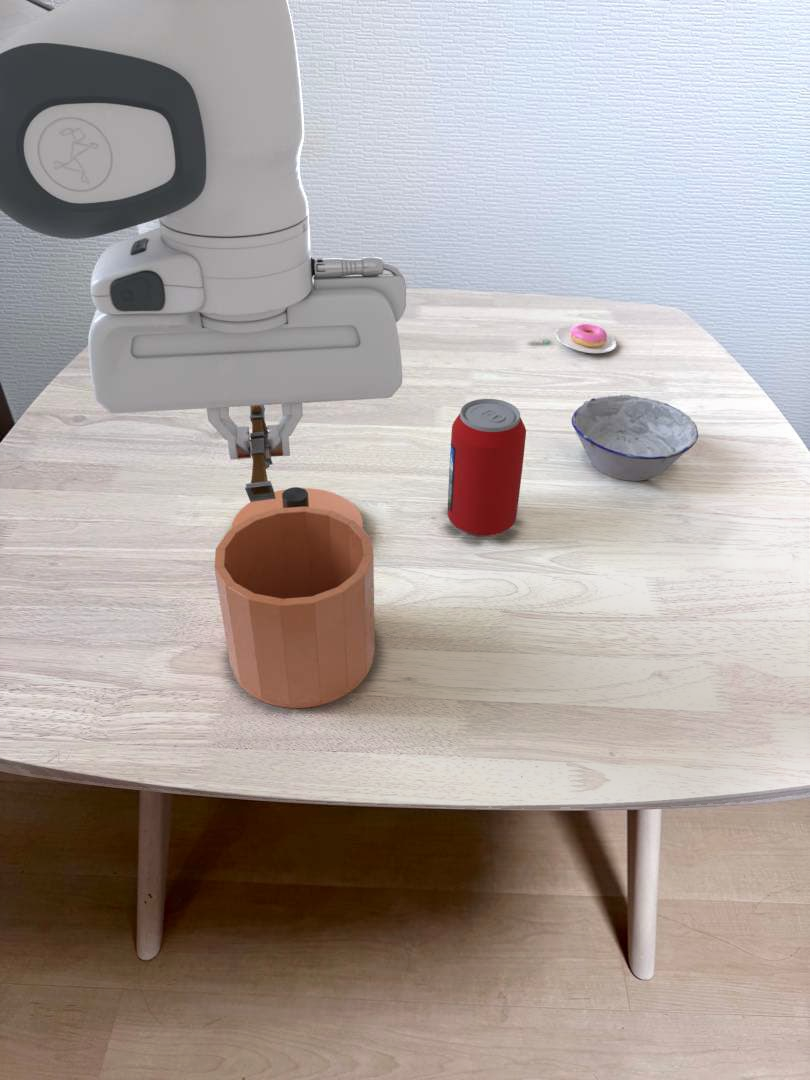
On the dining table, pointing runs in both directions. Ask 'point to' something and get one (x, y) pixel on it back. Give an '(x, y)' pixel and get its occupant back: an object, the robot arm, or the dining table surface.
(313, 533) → the terracotta faceted cylinder
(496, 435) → the beverage can
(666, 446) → the bowl
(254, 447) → the wooden post with brackets
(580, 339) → the donut
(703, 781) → the dining table surface
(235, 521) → the lid
